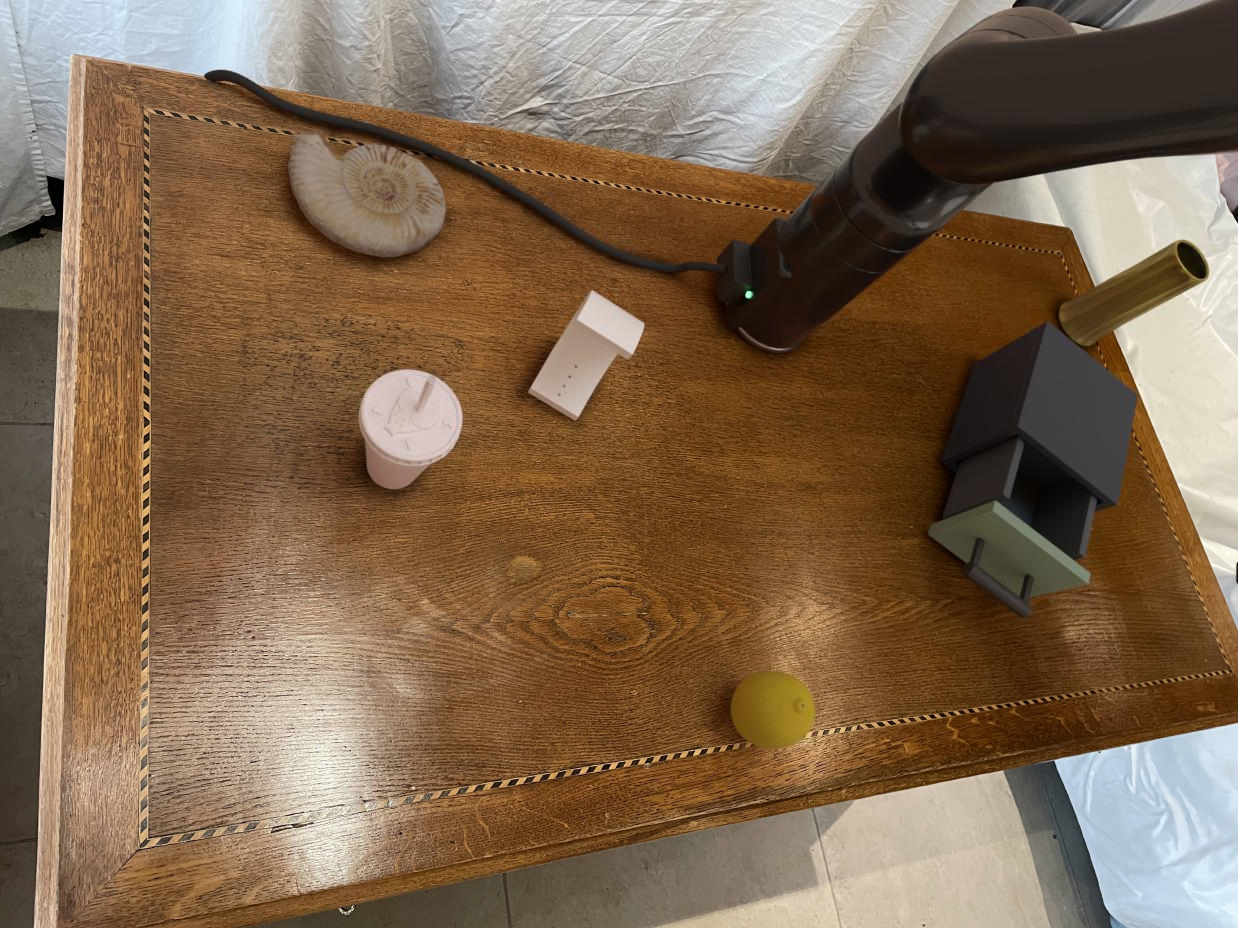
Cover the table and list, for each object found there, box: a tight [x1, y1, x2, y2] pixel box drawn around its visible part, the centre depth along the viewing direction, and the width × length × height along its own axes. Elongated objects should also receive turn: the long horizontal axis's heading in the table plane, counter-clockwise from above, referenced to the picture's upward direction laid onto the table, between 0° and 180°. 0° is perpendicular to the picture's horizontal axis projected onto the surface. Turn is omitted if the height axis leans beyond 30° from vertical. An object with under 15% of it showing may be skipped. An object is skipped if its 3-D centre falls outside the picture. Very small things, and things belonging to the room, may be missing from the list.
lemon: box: [730, 670, 816, 750], centre depth 58 cm, size 6×6×8 cm
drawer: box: [927, 434, 1097, 619], centre depth 74 cm, size 18×11×8 cm, turn 151°
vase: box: [1057, 238, 1210, 347], centre depth 91 cm, size 6×6×14 cm
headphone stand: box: [527, 289, 645, 422], centre depth 61 cm, size 5×6×12 cm
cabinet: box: [940, 320, 1139, 513], centre depth 80 cm, size 15×13×10 cm
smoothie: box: [358, 368, 463, 490], centre depth 52 cm, size 6×6×14 cm
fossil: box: [287, 130, 447, 258], centre depth 63 cm, size 12×5×10 cm
